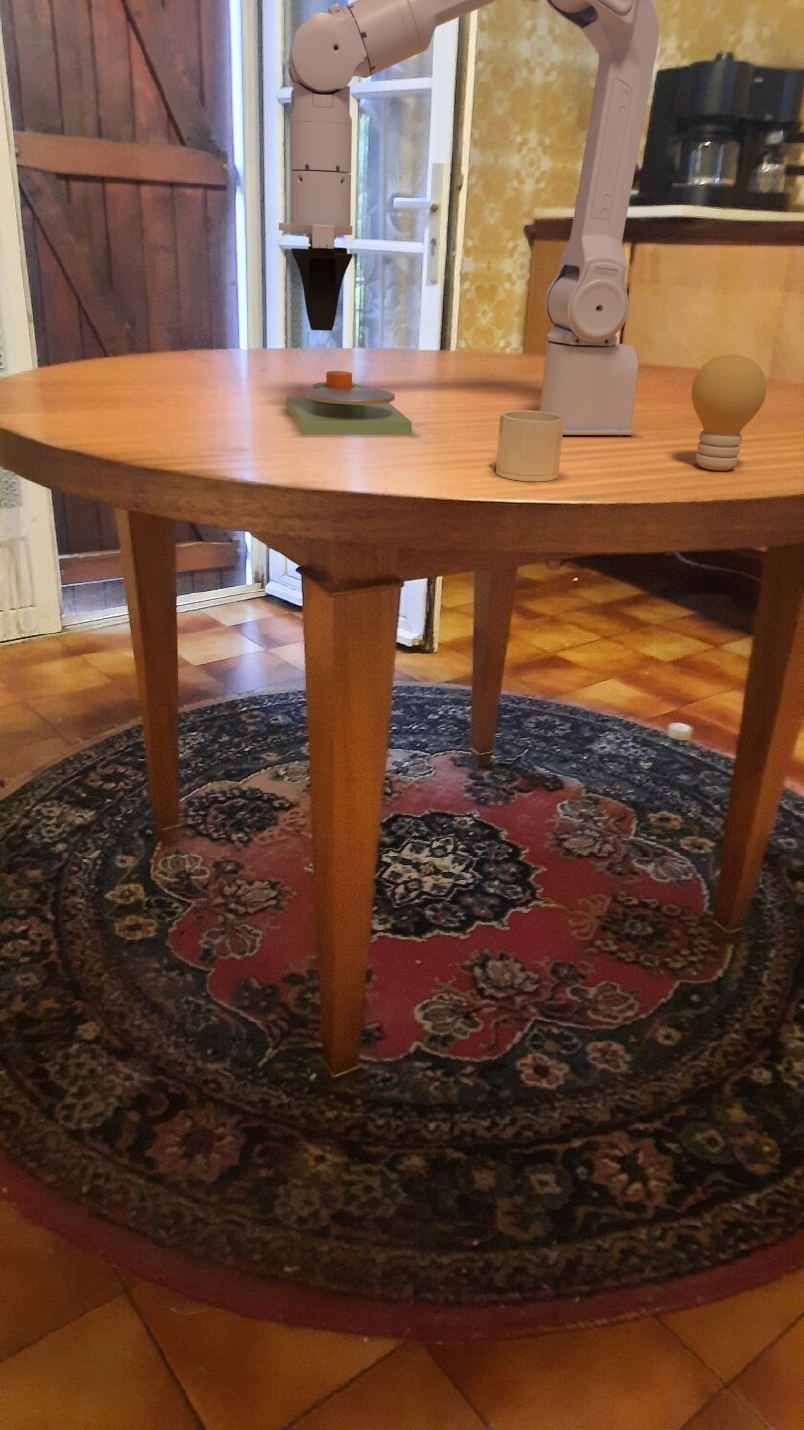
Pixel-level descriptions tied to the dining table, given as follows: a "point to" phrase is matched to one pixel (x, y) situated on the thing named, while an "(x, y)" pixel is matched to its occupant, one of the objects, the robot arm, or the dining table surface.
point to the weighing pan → (350, 395)
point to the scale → (346, 417)
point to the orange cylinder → (338, 379)
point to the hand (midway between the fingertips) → (320, 326)
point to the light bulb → (725, 407)
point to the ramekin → (529, 445)
